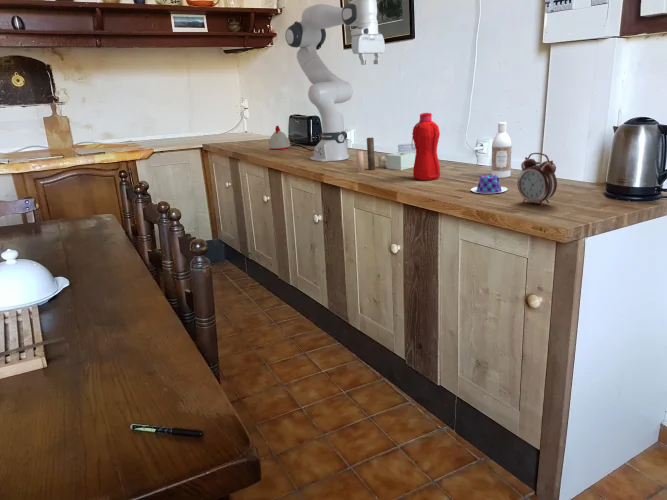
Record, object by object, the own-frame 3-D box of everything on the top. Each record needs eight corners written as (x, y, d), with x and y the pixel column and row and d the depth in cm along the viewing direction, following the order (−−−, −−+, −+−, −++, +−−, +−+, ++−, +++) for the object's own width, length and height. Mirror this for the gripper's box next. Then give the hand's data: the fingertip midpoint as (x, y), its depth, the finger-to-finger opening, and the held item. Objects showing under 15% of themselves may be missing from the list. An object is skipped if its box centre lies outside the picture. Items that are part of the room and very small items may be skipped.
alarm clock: (515, 202, 156) (517, 152, 151) (525, 199, 158) (527, 150, 153) (547, 208, 147) (550, 155, 142) (557, 205, 149) (561, 152, 145)
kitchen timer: (266, 151, 327) (263, 127, 322) (272, 148, 340) (269, 125, 335) (287, 150, 324) (285, 126, 320) (292, 147, 337) (290, 124, 333)
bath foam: (491, 178, 193) (492, 123, 187) (491, 174, 199) (492, 122, 193) (510, 178, 191) (512, 122, 185) (510, 174, 197) (512, 121, 191)
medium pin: (356, 172, 228) (354, 151, 225) (361, 171, 230) (360, 150, 227) (360, 172, 226) (359, 152, 223) (365, 171, 227) (364, 151, 225)
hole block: (386, 168, 232) (386, 154, 230) (400, 165, 237) (400, 152, 235) (401, 169, 225) (400, 156, 223) (415, 166, 230) (414, 153, 228)
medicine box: (415, 161, 244) (415, 143, 241) (416, 163, 240) (415, 144, 237) (398, 162, 245) (398, 144, 242) (398, 164, 240) (398, 145, 238)
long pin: (366, 169, 232) (365, 138, 227) (371, 168, 233) (370, 137, 229) (371, 170, 229) (369, 138, 225) (376, 169, 231) (374, 137, 227)
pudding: (486, 197, 166) (486, 181, 165) (463, 191, 177) (463, 176, 175) (515, 191, 171) (516, 176, 169) (491, 186, 181) (491, 171, 180)
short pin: (377, 167, 236) (376, 156, 234) (382, 166, 237) (381, 155, 236) (382, 168, 233) (381, 157, 232) (386, 167, 235) (386, 156, 233)
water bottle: (406, 179, 204) (404, 114, 196) (430, 175, 207) (429, 111, 200) (419, 182, 195) (417, 114, 188) (443, 178, 199) (443, 112, 192)
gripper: (376, 32, 236) (377, 64, 241) (348, 31, 222) (350, 65, 226) (387, 30, 232) (389, 63, 237) (359, 29, 218) (361, 64, 222)
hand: (369, 64), depth 231 cm, fingers open, 8 cm apart
